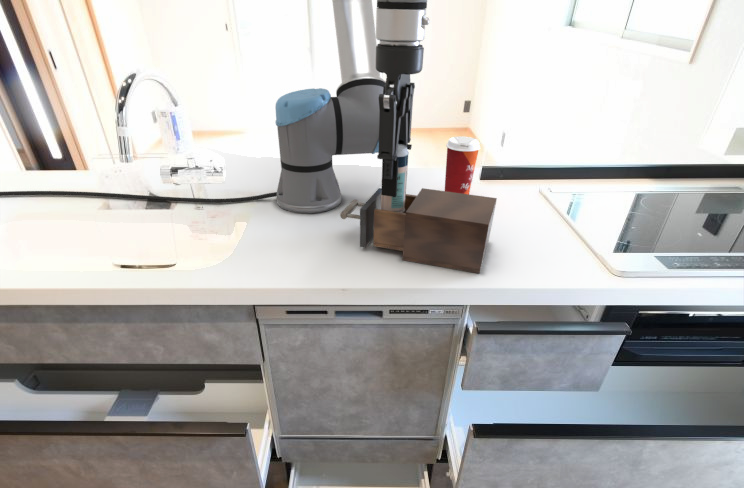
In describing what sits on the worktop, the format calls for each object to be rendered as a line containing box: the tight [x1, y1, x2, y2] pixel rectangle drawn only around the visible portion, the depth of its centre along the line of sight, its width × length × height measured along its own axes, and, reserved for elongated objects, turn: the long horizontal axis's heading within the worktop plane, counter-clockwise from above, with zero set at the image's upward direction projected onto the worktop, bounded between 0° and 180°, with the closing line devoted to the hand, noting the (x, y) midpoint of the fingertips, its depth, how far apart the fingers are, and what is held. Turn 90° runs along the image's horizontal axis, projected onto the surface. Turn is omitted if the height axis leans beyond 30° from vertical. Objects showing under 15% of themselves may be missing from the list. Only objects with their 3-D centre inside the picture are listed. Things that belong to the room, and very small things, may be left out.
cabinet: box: [402, 187, 498, 274], centre depth 85 cm, size 15×13×10 cm
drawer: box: [339, 187, 418, 252], centre depth 87 cm, size 18×11×8 cm, turn 71°
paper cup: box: [444, 135, 481, 195], centre depth 104 cm, size 8×8×14 cm
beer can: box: [381, 144, 410, 213], centre depth 82 cm, size 5×5×12 cm
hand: (393, 190), depth 84 cm, fingers closed on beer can, 5 cm apart
